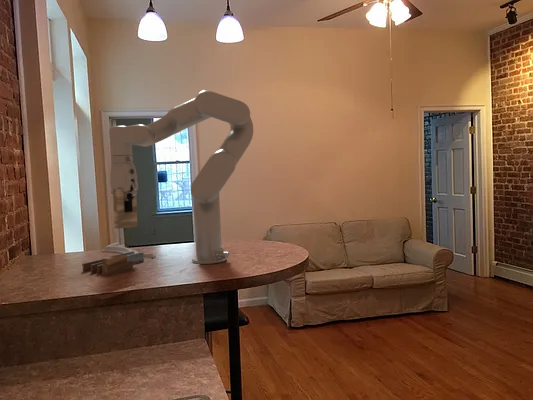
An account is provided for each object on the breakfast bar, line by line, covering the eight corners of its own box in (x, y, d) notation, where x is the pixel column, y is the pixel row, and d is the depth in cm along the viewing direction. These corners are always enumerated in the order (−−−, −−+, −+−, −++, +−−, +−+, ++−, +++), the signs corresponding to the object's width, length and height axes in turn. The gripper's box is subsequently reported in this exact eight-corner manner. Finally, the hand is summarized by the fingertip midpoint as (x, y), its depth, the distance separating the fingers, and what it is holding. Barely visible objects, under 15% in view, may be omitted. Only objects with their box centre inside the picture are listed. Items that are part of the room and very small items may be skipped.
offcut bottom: (128, 269, 157) (128, 262, 157) (108, 274, 151) (108, 267, 150) (121, 268, 159) (121, 261, 159) (102, 273, 152) (101, 266, 152)
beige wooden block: (137, 226, 170) (136, 188, 170) (119, 228, 164) (118, 189, 163) (131, 226, 172) (130, 188, 171) (114, 228, 165) (112, 189, 165)
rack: (135, 272, 158) (134, 260, 157) (108, 279, 148) (108, 267, 148) (107, 268, 166) (106, 257, 166) (80, 275, 157) (79, 263, 156)
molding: (159, 260, 180) (159, 252, 180) (129, 264, 173) (128, 257, 173) (122, 247, 215) (122, 241, 214) (95, 250, 207) (95, 244, 207)
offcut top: (127, 262, 157) (126, 255, 156) (109, 266, 151) (108, 259, 151) (120, 261, 159) (119, 254, 158) (102, 265, 153) (102, 258, 152)
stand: (149, 263, 171) (148, 251, 171) (125, 269, 162) (124, 257, 162) (132, 261, 176) (132, 250, 176) (108, 267, 167) (107, 255, 167)
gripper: (145, 159, 165) (148, 211, 166) (115, 161, 174) (118, 210, 175) (128, 160, 158) (132, 213, 160) (98, 161, 167) (102, 212, 169)
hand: (125, 211), depth 167 cm, fingers closed on beige wooden block, 3 cm apart
